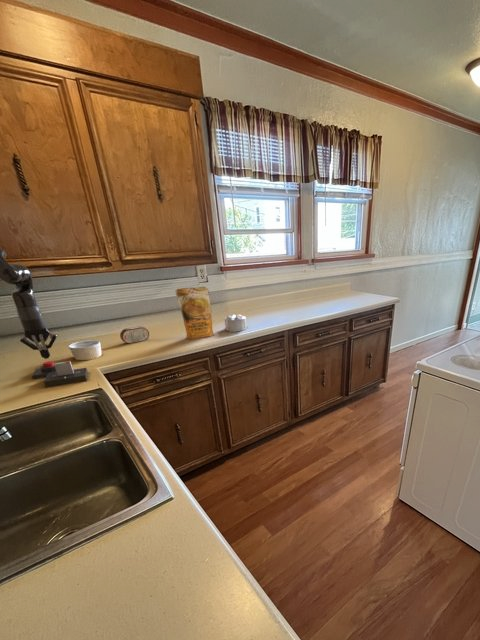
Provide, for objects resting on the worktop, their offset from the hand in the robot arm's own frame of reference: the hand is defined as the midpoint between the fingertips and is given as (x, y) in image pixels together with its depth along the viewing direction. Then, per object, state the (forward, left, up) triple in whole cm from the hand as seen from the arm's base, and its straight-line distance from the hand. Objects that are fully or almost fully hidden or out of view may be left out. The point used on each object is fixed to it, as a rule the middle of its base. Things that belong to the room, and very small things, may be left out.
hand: (46, 358), depth 139 cm
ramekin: (+13, +18, -8) cm, 23 cm away
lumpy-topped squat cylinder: (+95, +36, -8) cm, 102 cm away
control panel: (+7, -12, -7) cm, 16 cm away
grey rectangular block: (+7, -12, -4) cm, 15 cm away
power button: (0, 0, -4) cm, 4 cm away
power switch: (0, 0, -7) cm, 7 cm away
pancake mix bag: (+70, +29, -8) cm, 76 cm away
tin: (+36, +35, -8) cm, 51 cm away
